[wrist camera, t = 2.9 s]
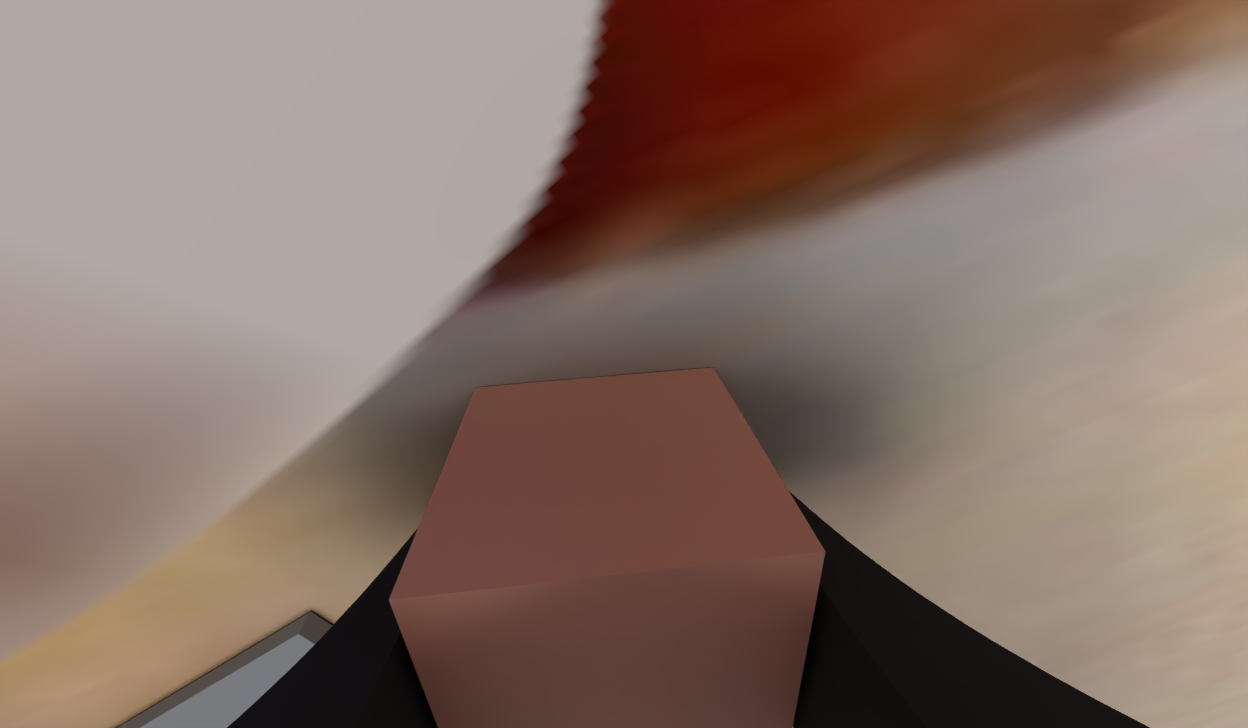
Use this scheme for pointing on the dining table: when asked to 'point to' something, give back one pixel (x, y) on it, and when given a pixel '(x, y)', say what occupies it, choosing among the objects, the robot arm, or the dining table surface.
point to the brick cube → (609, 563)
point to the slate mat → (235, 681)
